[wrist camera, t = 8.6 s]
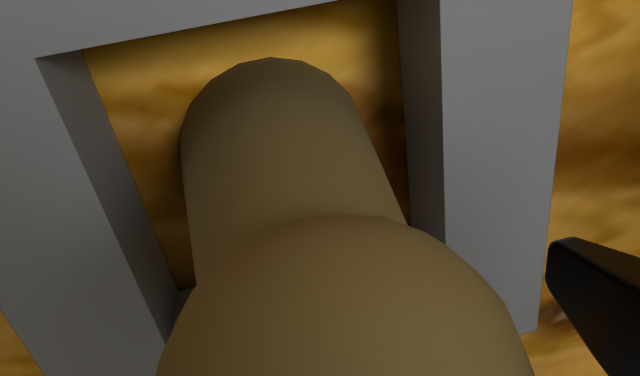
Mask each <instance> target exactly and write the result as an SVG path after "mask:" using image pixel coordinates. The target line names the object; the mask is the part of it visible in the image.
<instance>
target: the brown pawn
mask: <svg viewBox="0 0 640 376" xmlns="http://www.w3.org/2000/svg"><path fill="white" fill-rule="evenodd" d="M180 164H181V171H182V179H183V186H184V194H185V202H186V209H187V217H188V225H189V232H190V240H191V247H192V255H193V263H194V270H195V278H196V285H197V286H196V287H195V288H194V289H193V290H192V292H191V294H190V296H189V297H188V299H187V301H186V303H185V305H184V307H183V309H182V311H181V313H180V315H179V317H178V319H177V321H176V324H175V326H174V328H173V330H172V332H171V335H170V337H169V339H168V341H167V344H166V346H165V348H164V350H163V352H162V355H161V357H160V359H159V361H158V366H157V371H156V376H534V372H533V369H532V367H531V364H530V362H529V359H528V357H527V354H526V352H525V349H524V347H523V344H522V342H521V339H520V337H519V334H518V332H517V330H516V328H515V325H514V323H513V321H512V318H511V316H510V314H509V311H508V309H507V307H506V305H505V302H504V301H503V300H502V299H501V298H500V297H499V295H498V294H497V293H496V292H495V291H494V290H493V288H492V287H491V286H490V285H489V284H488V283H487V281H486V280H485V279H484V278H483V277H482V276H481V275H480V274H479V273H478V272H477V271H476V270H475V269H474V268H472V267H471V266H470V265H469V264H468V263H467V262H466V261H464V260H463V259H462V258H461V257H460V256H459V255H458V254H457V253H455V252H454V251H453V250H452V249H451V248H450V247H449V246H447V245H445V244H444V243H442V242H440V241H439V240H437V239H436V238H434V237H432V236H431V235H429V234H428V233H426V232H424V231H422V230H419V229H416V228H413V227H411V226H408V225H407V222H406V220H405V218H404V216H403V213H402V211H401V209H400V206H399V204H398V202H397V199H396V197H395V195H394V192H393V190H392V188H391V186H390V183H389V181H388V179H387V176H386V174H385V172H384V169H383V167H382V165H381V162H380V160H379V158H378V155H377V153H376V151H375V149H374V146H373V144H372V142H371V139H370V137H369V135H368V132H367V130H366V128H365V125H364V123H363V121H362V119H361V116H360V114H359V112H358V110H357V108H356V106H355V104H354V102H353V100H352V98H351V96H350V94H349V93H348V92H347V91H346V90H345V89H344V88H343V87H342V86H341V85H340V84H339V83H338V82H337V81H336V80H335V79H334V78H333V77H332V76H331V75H330V74H328V73H326V72H324V71H322V70H320V69H318V68H316V67H314V66H311V65H309V64H307V63H305V62H303V61H299V60H290V59H282V58H273V57H268V58H264V59H259V60H254V61H249V62H244V63H240V64H237V65H236V66H234V67H232V68H230V69H229V70H227V71H225V72H224V73H222V74H220V75H219V76H217V77H215V78H213V79H212V80H211V81H210V82H209V83H208V84H207V85H206V86H205V88H204V89H203V90H202V91H201V92H200V93H199V95H198V96H197V97H196V98H195V99H194V100H193V102H192V103H191V104H190V107H189V110H188V112H187V115H186V118H185V120H184V123H183V125H182V128H181V131H180Z"/></svg>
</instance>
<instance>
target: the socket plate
mask: <svg viewBox="0 0 640 376" xmlns="http://www.w3.org/2000/svg"><path fill="white" fill-rule="evenodd" d="M331 1H336V0H0V310H1V311H2V313H3V314H4V316H5V317H6V319H7V320H8V322H9V323H10V325H11V326H12V328H13V329H14V331H15V332H16V334H17V335H18V336H19V338H20V339H21V341H22V342H23V344H24V345H25V347H26V348H27V350H28V351H29V353H30V354H31V356H32V357H33V359H34V360H35V362H36V363H37V365H38V366H39V368H40V369H41V371H42V372H43V374H44V375H45V376H156V371H157V366H158V361H159V359H160V357H161V355H162V352H163V350H164V348H165V346H166V344H167V341H168V339H169V337H170V335H171V332H172V330H173V328H174V326H175V324H176V321H177V319H178V317H179V315H180V313H181V311H182V309H183V307H184V305H185V303H186V301H187V299H188V297H189V296H190V294H191V292H192V290H193V289H194V288H195V287H196V286H195V287H191V288H187V289H183V290H179V291H178V290H177V287H176V285H175V282H174V280H173V277H172V275H171V272H170V270H169V268H168V265H167V263H166V260H165V258H164V255H163V253H162V250H161V248H160V245H159V243H158V240H157V238H156V235H155V233H154V230H153V228H152V225H151V223H150V221H149V218H148V216H147V213H146V211H145V208H144V206H143V203H142V201H141V198H140V196H139V193H138V191H137V188H136V186H135V183H134V181H133V179H132V176H131V174H130V171H129V169H128V166H127V164H126V161H125V159H124V156H123V154H122V151H121V149H120V146H119V144H118V141H117V139H116V136H115V134H114V132H113V129H112V127H111V124H110V122H109V119H108V117H107V114H106V112H105V109H104V107H103V104H102V102H101V99H100V97H99V94H98V92H97V90H96V87H95V85H94V82H93V80H92V77H91V75H90V72H89V70H88V67H87V65H86V62H85V60H84V57H83V55H82V52H81V50H80V49H85V48H90V47H95V46H100V45H106V44H111V43H116V42H121V41H127V40H132V39H137V38H142V37H147V36H153V35H158V34H163V33H168V32H174V31H179V30H184V29H189V28H195V27H200V26H205V25H210V24H216V23H221V22H226V21H231V20H236V19H242V18H247V17H252V16H257V15H263V14H268V13H273V12H278V11H284V10H289V9H294V8H299V7H305V6H310V5H315V4H320V3H325V2H331ZM396 4H397V19H398V34H399V48H400V63H401V78H402V93H403V108H404V123H405V138H406V153H407V167H408V182H409V197H410V212H411V227H413V228H416V229H419V230H422V231H424V232H426V233H428V234H429V235H431V236H432V237H434V238H436V239H437V240H439V241H440V242H442V243H444V244H445V245H447V246H449V247H450V248H451V249H452V250H453V251H454V252H455V253H457V254H458V255H459V256H460V257H461V258H462V259H463V260H464V261H466V262H467V263H468V264H469V265H470V266H471V267H472V268H474V269H475V270H476V271H477V272H478V273H479V274H480V275H481V276H482V277H483V278H484V279H485V280H486V281H487V283H488V284H489V285H490V286H491V287H492V288H493V290H494V291H495V292H496V293H497V294H498V295H499V297H500V298H501V299H502V300H503V301H504V302H505V305H506V307H507V309H508V311H509V314H510V316H511V318H512V321H513V323H514V325H515V328H516V330H517V332H518V334H519V335H521V334H525V333H528V332H532V331H535V330H537V323H538V314H539V305H540V296H541V287H542V278H543V269H544V260H545V251H546V242H547V233H548V224H549V215H550V206H551V197H552V188H553V179H554V169H555V160H556V151H557V142H558V133H559V124H560V115H561V106H562V97H563V88H564V79H565V70H566V61H567V52H568V43H569V34H570V25H571V16H572V7H573V0H396Z"/></svg>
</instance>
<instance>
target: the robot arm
mask: <svg viewBox="0 0 640 376" xmlns="http://www.w3.org/2000/svg"><path fill="white" fill-rule="evenodd" d="M545 280H546V284H547V287H548V289H549V291H550V292H551V294H552V295H553V297H554V298H555V300H556V301H557V303H558V304H559V306H560V307H561V309H562V310H563V312H564V313H565V315H566V316H567V318H568V319H569V320H570V322H571V323H572V325H573V326H574V328H575V329H576V331H577V332H578V334H579V335H580V337H581V338H582V340H583V341H584V343H585V344H586V346H587V347H588V349H589V350H590V352H591V353H592V355H593V356H594V357H595V359H596V360H597V362H598V363H599V364H600V365H601V367H602V368H603V369H604V371H605V372H606V373H607V374H608V376H640V258H639V257H636V256H633V255H630V254H627V253H624V252H620V251H617V250H614V249H611V248H608V247H605V246H602V245H599V244H595V243H592V242H589V241H586V240H583V239H580V238H577V237H568V238H564V239H560V240H557V241H553V242H552V243H551V244H550V245H549V248H548V255H547V264H546V273H545Z"/></svg>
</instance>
